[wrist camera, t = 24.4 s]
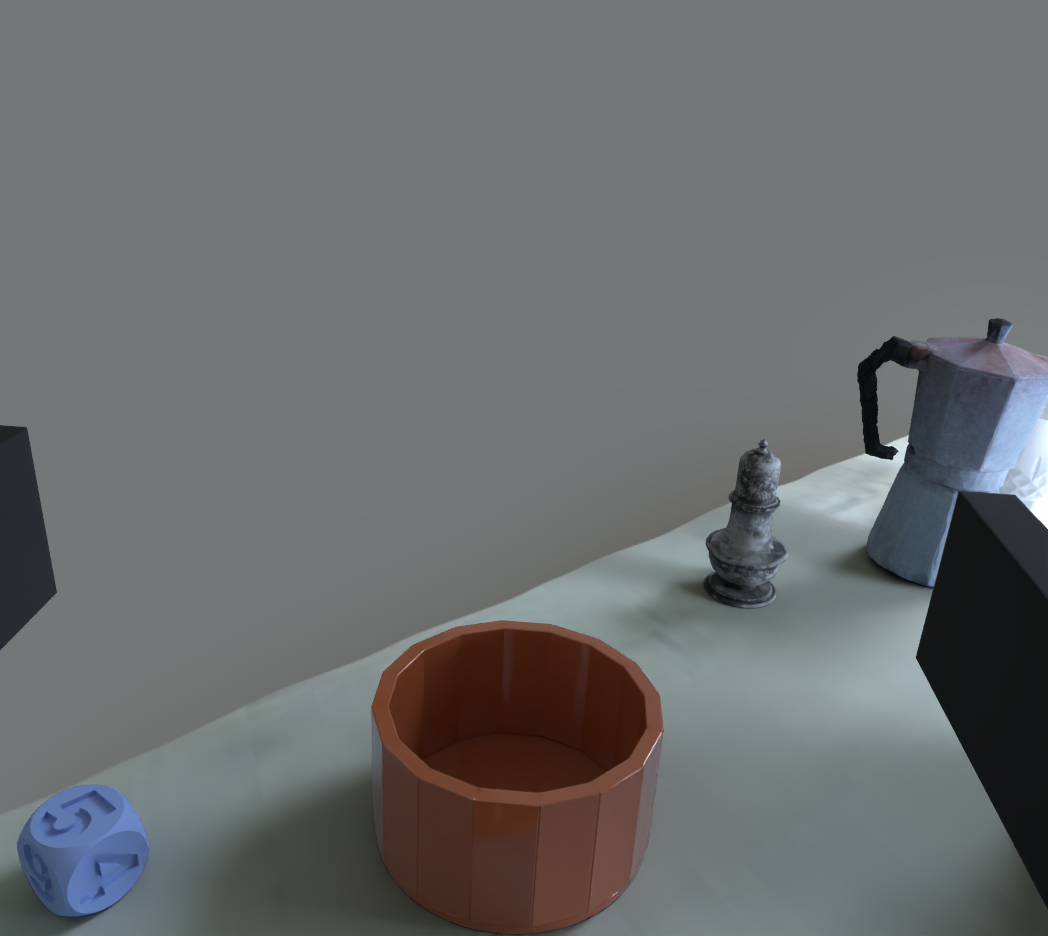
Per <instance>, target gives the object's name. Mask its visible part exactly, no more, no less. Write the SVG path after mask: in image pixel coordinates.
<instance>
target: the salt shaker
mask: <svg viewBox="0 0 1048 936" xmlns="http://www.w3.org/2000/svg"><path fill="white" fill-rule="evenodd" d="M758 444H759V446H760V447H759V448H757V449H753V450H750V451H747V452H746V453H744V454H743V455H742V456H741V458H740V462H739V468H738V475H737V482H736V488H735V490H734V491H732V492H731V493H730V494H729V500H730V502H732V507H731V513H730V520H729V522H728V525H727V527H726V528H724V529H720V530H717V531H714V532H713V533H711V534H709V536H708V537H707V538H706V546H707V549H708V550H709V558H710V562H711V565H712V567H713V569H714V570H715V572H713V573H711V574H709V575H708V576H707V577H706V578H705V580H704V587H705V590H706V591H707V592H708V594H709V595H710V596H712V597H713V598H715V599H716V600H718V601H720V602H722V603H725V604H728V605H731V606H735V607H741V608H758V607H764V606H766V605H769V604H770V603H772V602H773V601H774V600H775V598H776V589H775V588H774V586H773V585H772V584H771V583H770V582H769V580H771V579H772V578H774V576H775V575H776V573H777V572H778V571H779V569H780V567H781V565H782V563H783V562H784V561H785V560H786V559H787V557H788V550H787V548H786V547H785V545H784V544H783V543H782V542H781V541H779V540H778V539H777V538H775V537H773V536H772V522H773V516H774V510H775V509H777V508H778V507H779V506H780V500H779V499H778V497H776V492H777V487H778V481H779V475H780V469H781V462H780V460H779V458H778V456H776V455H775V454H774V453H772V452H771V451H769V450H767V449H766V447H767V446H768V444H767V441H765V439H763V440H762V441H761V442H760V443H758Z"/></svg>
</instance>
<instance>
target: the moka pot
mask: <svg viewBox="0 0 1048 936" xmlns="http://www.w3.org/2000/svg"><path fill="white" fill-rule="evenodd" d="M1011 327H1012V323H1010V322H1009V321H1006V320H1004V319H998V318H997V319H990V320H989V325H988V333H987V338H986V339H983V338H973V337H950V338H949V337H947V338H929V339H927V341H926V342H919V341H911V342H909V341H906V340H904V339H901V338H898V337H895V336H893V337H892V338H891V339H890V340H888V341H887V342H884V343H883V345H882V347H881V348H880V349H876V350H875V351H873V352H872V353H871V355H870V356H869V357H868V358H866V359H865V360H864V361H862V362H861V363H860V364H859V366H858V374H857V377H858V380H857V381H858V383H859V389H860V402H861V406H862V422H863V435H864V443H865V452H866V454H869V455H871V456H875V457H879V458H881V459H890V460H892V459H893V456H894V455H896V453H897V452H898V450H897V449H896V448H894V447H892V446H890V447H888V446H883V445H881V444H880V441H879V434H878V427H877V425H876V424H877V422H878V421H877V416H878V412H877V411H878V405H877V401H878V399H877V394H876V391H877V377H876V374H875V372H876V369H878V368H879V367H880V366H881V365H882V364H883V363H884V362H887V361H890V360H892V361H894V362H896V363H898V364H900V365H901V366H903V367H906V368H911V369H918V370H919V376H918V382H917V389H916V395H915V401H914V408H913V414H912V419H911V427H910V431H909V439H908V442H909V445H908V446H907V450H906V454H905V459H904V462H905V463H904V464H903V465H902V467H901V468H900V470H899V472H898V474H897V476H896V478H895V480H894V483H893V485H892V487H891V489H890V491H889V493H888V496H887V498H886V500H885V503H884V505H883V507H882V509H881V511H880V513H879V515H878V517H877V519H876V521H875V523H874V526H873V528H872V530H871V532H870V534H869V537H868V543H867V554H868V556H870V557H871V558H872V559H873V560H874V561H875V562H876V563H877V564H879V565H880V566H882V567H883V568H885V569H887V570H889V571H891V572H892V573H894V574H896V575H898V576H900V577H902V578H905V579H907V580H910V581H913V582H916V583H918V584H921V585H925V586H930V587H934V585H935V581H936V577H937V573H938V569H939V565H940V561H941V557H942V553H943V549H944V546H945V542H946V538H947V534H948V530H949V526H950V522H951V518H952V514H953V510H954V507H955V503H956V499H957V495H958V491H969V492H983V493H998V494H1000V492H999V488H1000V487H1001V486H1002V485H1003V483H1004V481H1005V478H1006V476H1007V473H1008V471H1009V469H1012V468H1013V467H1014V465H1015V463H1016V461H1017V459H1018V457H1019V456H1020V454H1021V451H1022V449H1023V447H1024V445H1025V443H1026V441H1027V439H1028V437H1029V435H1030V433H1031V431H1032V429H1033V427H1034V425H1035V423H1036V421H1037V419H1038V417H1039V415H1040V413H1041V411H1042V409H1043V408H1044V407H1045V406H1046V405H1047V403H1048V357H1045V356H1040V355H1035V354H1032V353H1030V352H1027V351H1025V350H1023V349H1020V348H1018V347H1015V346H1012V345H1010V344H1007V343H1004V342H1003V341H1004V339H1005V337H1006V336H1007V334H1008V332H1009V331H1010V329H1011Z"/></svg>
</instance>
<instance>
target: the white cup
mask: <svg viewBox="0 0 1048 936" xmlns="http://www.w3.org/2000/svg"><path fill="white" fill-rule="evenodd" d="M999 492H1000V494H1013V495H1016V496H1017V497H1018V498H1019V499H1020V500H1021V501H1022V502H1023V503H1024V504H1025V505H1026V507H1027V508H1028V509H1029V510H1030V511H1031V512H1032V513H1033V514H1034V515H1035V516H1036V517H1037V518H1038V519H1039V520H1041V519H1042V518H1043V516H1044V514H1045V511H1046V509H1047V506H1048V403H1047V405H1046V406H1045V407H1044V408H1043V409H1042V411H1041V413H1040V415H1039V417H1038V419H1037V421H1036V423H1035V425H1034V427H1033V429H1032V431H1031V433H1030V435H1029V437H1028V439H1027V441H1026V443H1025V445H1024V447H1023V449H1022V451H1021V454H1020V456H1019V457H1018V459H1017V461H1016V463H1015V465H1014V467H1013V468H1012V469H1009V471H1008V473H1007V476H1006V478H1005V481H1004V483H1003V485H1002V486H1001V487H1000V488H999Z"/></svg>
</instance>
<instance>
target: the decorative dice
mask: <svg viewBox="0 0 1048 936" xmlns="http://www.w3.org/2000/svg"><path fill="white" fill-rule="evenodd" d="M17 850H18V855H19V859H20V862H21V865H22V868H23V870H24V873H25V875H26V877H27V879H28V881H29V883H30V885H31V887H32V888H33V890H34V892H35V893H36V895H37V896H38V898H39V899H40V900H41V901H42V903H43V904H44V905H45V906H46V907H47V908H48V909H49V910H50V911H51V912H52V913H54V914H56V915H59V916H67V917H76V916H85V915H89V914H93V913H96V912H99V911H101V910H103V909H105V908H107V907H109V906H111V905H112V904H114V903H115V902H117V901H118V900H119V899H121V898H122V897H123V896H124V895H125V894H126V893H127V892H128V891H129V890H130V889H131V888H132V887H133V885H134V884H135V883H136V881H137V880H138V878H139V877H140V875H141V873H142V871H143V869H144V867H145V864H146V861H147V858H148V854H149V843H148V838H147V834H146V831H145V829H144V826H143V824H142V822H141V820H140V818H139V816H138V814H137V812H136V811H135V809H134V808H133V806H132V805H131V803H130V802H129V801H128V800H127V798H126V797H125V796H124V795H123V794H122V793H120V792H119V791H118V790H116V789H115V788H112V787H108V786H104V785H82V786H77V787H73V788H70V789H67V790H65V791H62V792H60V793H58V794H56V795H54V796H53V797H51V798H50V799H48V800H47V801H46V802H44V803H43V804H42V805H41V806H40V807H39V808H38V809H37V810H36V811H35V812H34V813H33V814H32V815H31V817H30V818H29V819H28V821H27V823H26V824H25V826H24V828H23V830H22V832H21V834H20V836H19V839H18V842H17Z"/></svg>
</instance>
